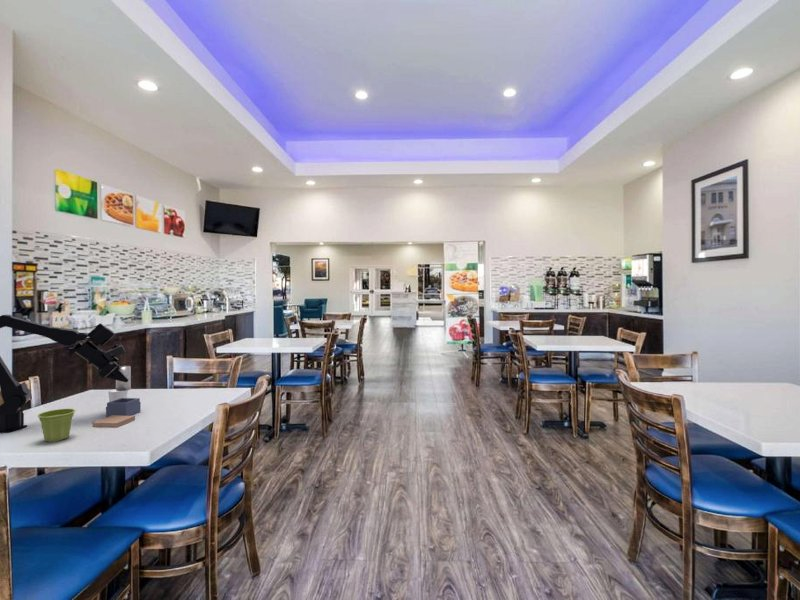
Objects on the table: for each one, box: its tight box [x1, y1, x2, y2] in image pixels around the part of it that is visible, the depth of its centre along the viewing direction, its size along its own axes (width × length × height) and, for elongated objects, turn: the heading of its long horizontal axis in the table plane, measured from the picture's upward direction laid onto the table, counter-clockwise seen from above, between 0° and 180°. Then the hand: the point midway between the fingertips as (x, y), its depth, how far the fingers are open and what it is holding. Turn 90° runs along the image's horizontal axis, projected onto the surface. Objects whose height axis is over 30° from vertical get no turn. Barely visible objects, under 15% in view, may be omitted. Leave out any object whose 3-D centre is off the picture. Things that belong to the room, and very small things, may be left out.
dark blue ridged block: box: [105, 397, 142, 418], centre depth 160 cm, size 8×8×6 cm
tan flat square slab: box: [92, 415, 136, 428], centre depth 149 cm, size 9×9×2 cm
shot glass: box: [107, 388, 129, 402], centre depth 172 cm, size 7×7×7 cm
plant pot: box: [37, 408, 76, 443], centre depth 132 cm, size 9×9×9 cm
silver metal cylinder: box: [115, 365, 132, 391], centre depth 160 cm, size 5×5×9 cm
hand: (127, 380), depth 160 cm, fingers closed on silver metal cylinder, 5 cm apart
